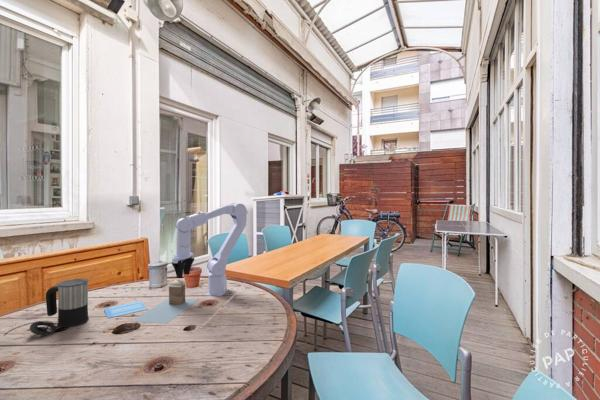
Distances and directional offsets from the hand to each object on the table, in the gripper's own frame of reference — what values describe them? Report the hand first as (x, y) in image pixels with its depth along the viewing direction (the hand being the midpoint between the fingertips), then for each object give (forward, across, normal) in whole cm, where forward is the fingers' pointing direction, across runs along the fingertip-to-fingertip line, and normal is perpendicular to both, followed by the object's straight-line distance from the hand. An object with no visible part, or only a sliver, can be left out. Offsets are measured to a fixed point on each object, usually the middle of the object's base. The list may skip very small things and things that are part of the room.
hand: (183, 276), depth 131 cm
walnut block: (+10, +6, +1) cm, 11 cm away
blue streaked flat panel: (+12, +15, -16) cm, 25 cm away
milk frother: (+12, +31, -28) cm, 43 cm away
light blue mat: (+11, +12, +1) cm, 16 cm away
